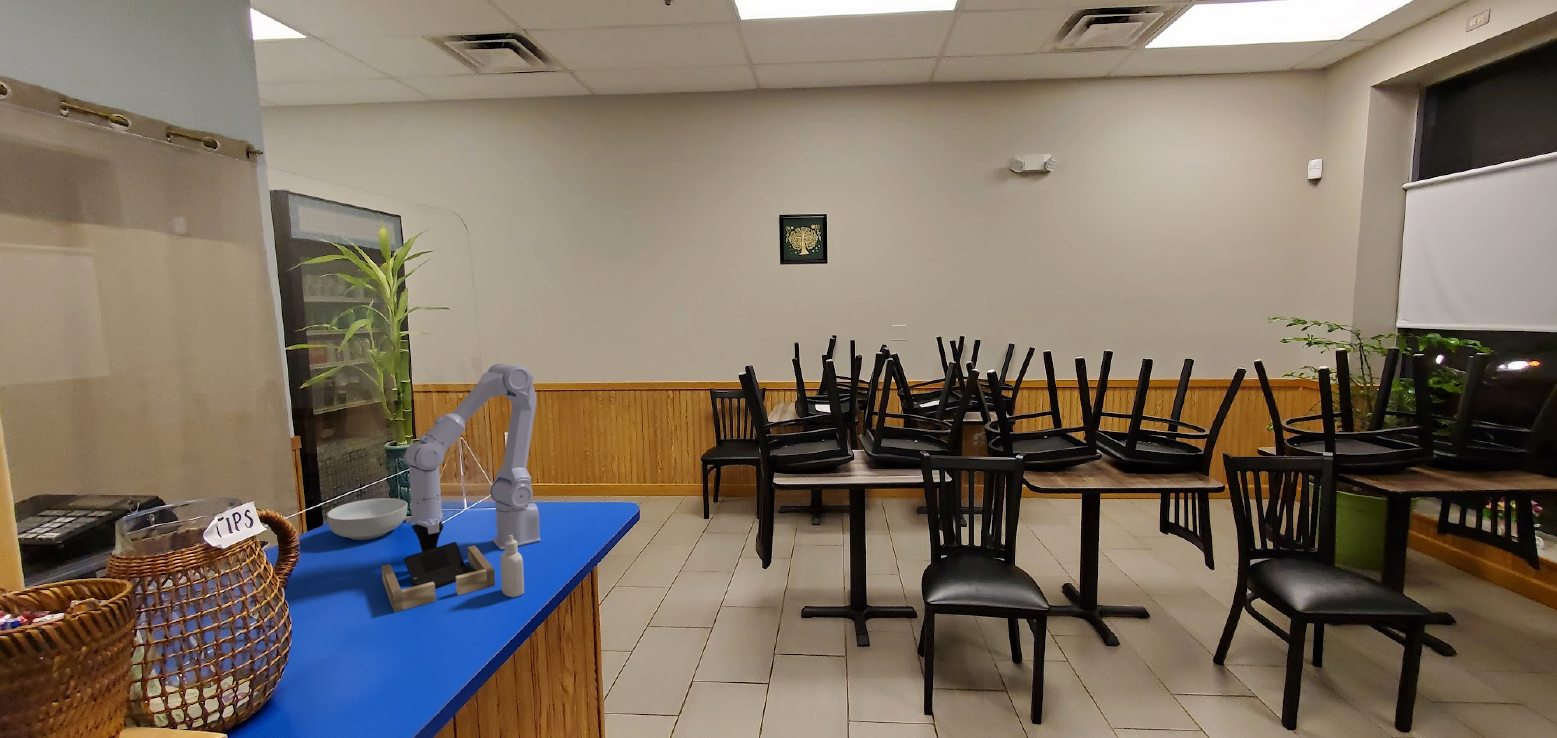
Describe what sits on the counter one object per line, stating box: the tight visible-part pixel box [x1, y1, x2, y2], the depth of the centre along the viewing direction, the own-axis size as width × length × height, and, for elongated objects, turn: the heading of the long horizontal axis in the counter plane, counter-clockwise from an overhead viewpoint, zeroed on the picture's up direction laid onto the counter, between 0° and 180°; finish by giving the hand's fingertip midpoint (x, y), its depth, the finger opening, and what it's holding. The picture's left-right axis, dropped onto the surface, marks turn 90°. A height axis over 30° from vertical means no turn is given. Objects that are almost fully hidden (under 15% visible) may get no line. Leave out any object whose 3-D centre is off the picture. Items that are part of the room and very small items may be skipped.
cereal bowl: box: [326, 497, 408, 541], centre depth 155 cm, size 17×17×7 cm
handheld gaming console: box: [403, 541, 477, 590], centre depth 131 cm, size 12×7×10 cm
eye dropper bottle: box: [500, 535, 525, 598], centre depth 124 cm, size 4×6×12 cm
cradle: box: [381, 544, 496, 613], centre depth 128 cm, size 18×16×4 cm
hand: (429, 555), depth 135 cm, fingers closed
